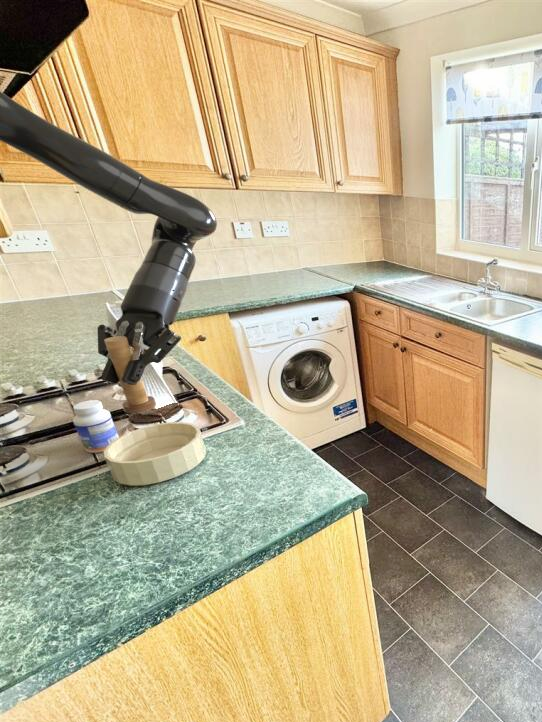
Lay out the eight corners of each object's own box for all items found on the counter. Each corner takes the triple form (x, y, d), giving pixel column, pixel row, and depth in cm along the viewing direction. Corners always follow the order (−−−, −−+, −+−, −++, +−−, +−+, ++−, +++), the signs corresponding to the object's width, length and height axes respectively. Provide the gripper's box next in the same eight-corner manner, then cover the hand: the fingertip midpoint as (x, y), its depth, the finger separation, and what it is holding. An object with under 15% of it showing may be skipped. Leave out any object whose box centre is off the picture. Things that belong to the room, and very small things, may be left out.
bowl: (93, 489, 74) (82, 464, 72) (146, 445, 87) (138, 422, 85) (181, 486, 76) (172, 461, 74) (220, 443, 89) (214, 421, 87)
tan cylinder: (117, 413, 73) (90, 343, 67) (135, 401, 76) (110, 334, 71) (145, 413, 73) (120, 343, 68) (161, 401, 77) (139, 334, 72)
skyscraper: (188, 404, 103) (154, 291, 91) (165, 419, 96) (125, 299, 84) (156, 402, 103) (118, 289, 91) (130, 417, 96) (85, 297, 84)
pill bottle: (82, 447, 85) (63, 405, 81) (116, 436, 89) (99, 395, 85) (90, 456, 82) (71, 413, 78) (125, 445, 87) (108, 403, 82)
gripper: (100, 280, 73) (55, 371, 67) (178, 285, 73) (140, 377, 67) (136, 302, 80) (99, 387, 74) (207, 307, 80) (175, 393, 74)
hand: (118, 382), depth 70 cm, fingers closed on tan cylinder, 3 cm apart
